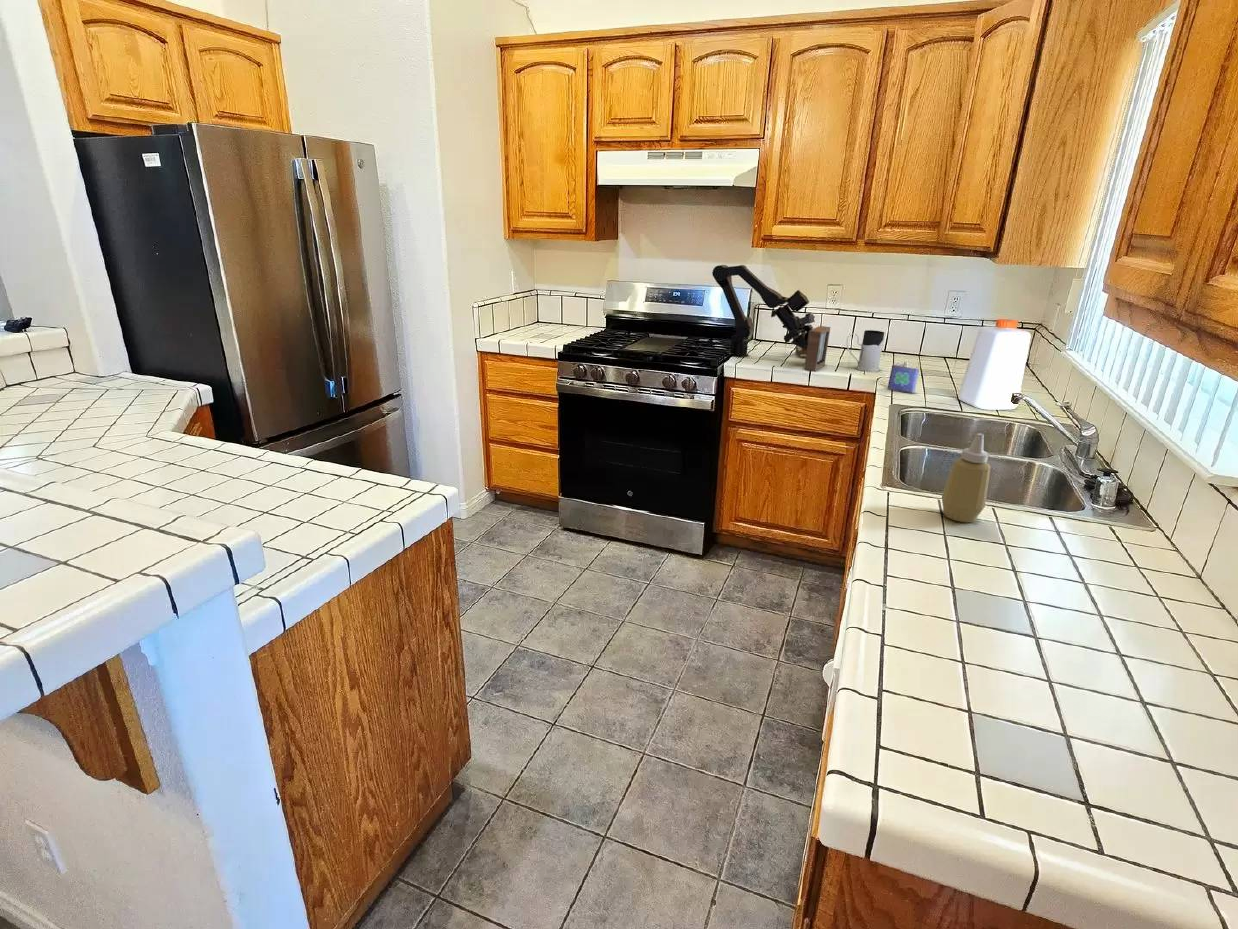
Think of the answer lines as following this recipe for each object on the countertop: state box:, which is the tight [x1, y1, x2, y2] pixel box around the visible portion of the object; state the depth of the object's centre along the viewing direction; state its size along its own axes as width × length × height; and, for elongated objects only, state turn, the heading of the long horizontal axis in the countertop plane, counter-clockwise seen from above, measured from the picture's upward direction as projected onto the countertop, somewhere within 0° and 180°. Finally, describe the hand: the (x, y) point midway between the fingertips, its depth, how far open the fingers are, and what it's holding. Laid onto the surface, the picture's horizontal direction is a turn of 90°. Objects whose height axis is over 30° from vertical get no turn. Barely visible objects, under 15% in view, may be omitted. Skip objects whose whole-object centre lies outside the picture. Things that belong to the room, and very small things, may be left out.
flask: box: [887, 360, 920, 394], centre depth 228 cm, size 9×3×11 cm, turn 51°
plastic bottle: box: [957, 318, 1032, 411], centre depth 213 cm, size 15×15×28 cm
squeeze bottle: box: [941, 432, 991, 523], centre depth 130 cm, size 8×8×18 cm
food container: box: [794, 345, 806, 359], centre depth 280 cm, size 12×6×10 cm, turn 179°
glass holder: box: [846, 329, 885, 373], centre depth 260 cm, size 9×14×15 cm, turn 77°
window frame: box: [803, 325, 831, 372], centre depth 259 cm, size 15×4×15 cm, turn 149°
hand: (810, 350), depth 262 cm, fingers open, 4 cm apart
